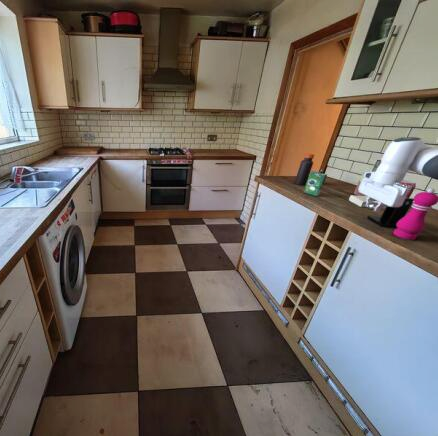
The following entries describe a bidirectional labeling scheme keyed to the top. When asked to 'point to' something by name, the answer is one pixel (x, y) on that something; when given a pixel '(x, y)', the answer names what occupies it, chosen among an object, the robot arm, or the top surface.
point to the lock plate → (361, 201)
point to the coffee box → (315, 183)
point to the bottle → (304, 170)
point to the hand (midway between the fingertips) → (371, 208)
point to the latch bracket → (392, 214)
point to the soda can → (409, 187)
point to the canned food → (358, 186)
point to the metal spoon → (372, 206)
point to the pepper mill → (416, 215)
